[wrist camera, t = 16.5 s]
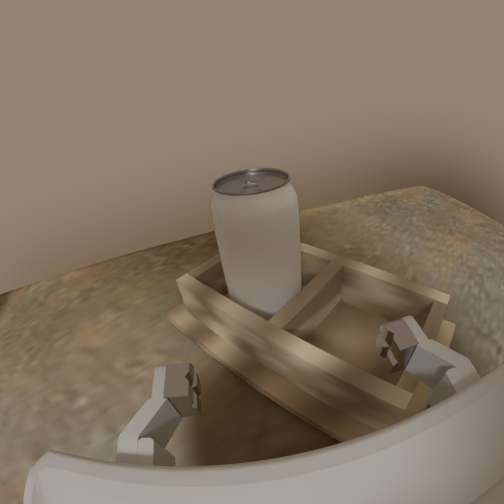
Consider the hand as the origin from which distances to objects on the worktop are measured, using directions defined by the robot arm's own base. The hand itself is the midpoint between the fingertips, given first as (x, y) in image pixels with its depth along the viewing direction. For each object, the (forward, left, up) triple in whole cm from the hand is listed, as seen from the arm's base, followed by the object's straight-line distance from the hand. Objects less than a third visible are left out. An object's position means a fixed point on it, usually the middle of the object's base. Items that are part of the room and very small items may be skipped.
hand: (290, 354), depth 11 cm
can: (-9, +8, -9) cm, 15 cm away
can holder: (-5, +8, -10) cm, 13 cm away
